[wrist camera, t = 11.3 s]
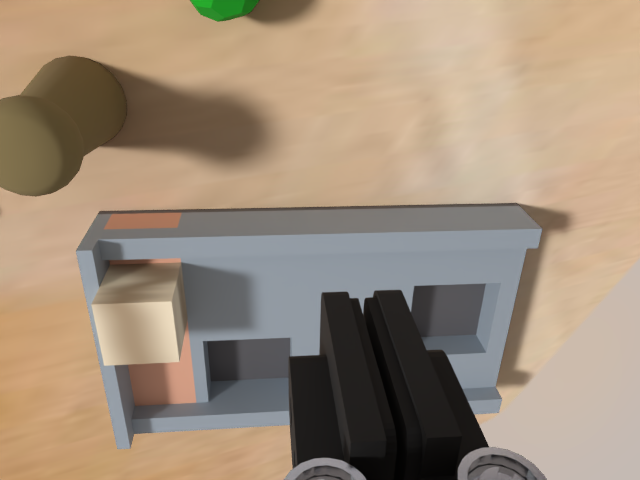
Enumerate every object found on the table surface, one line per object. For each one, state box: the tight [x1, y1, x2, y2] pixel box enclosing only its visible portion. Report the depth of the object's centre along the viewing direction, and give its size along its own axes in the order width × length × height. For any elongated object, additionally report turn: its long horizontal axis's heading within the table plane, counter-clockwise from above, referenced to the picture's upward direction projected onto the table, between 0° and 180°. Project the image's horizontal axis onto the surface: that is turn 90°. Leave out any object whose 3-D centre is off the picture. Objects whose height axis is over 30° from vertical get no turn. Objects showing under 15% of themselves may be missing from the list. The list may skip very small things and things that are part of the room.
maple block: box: [91, 262, 188, 366], centre depth 39 cm, size 5×5×5 cm
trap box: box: [76, 203, 542, 449], centre depth 44 cm, size 32×18×6 cm, turn 89°
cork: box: [0, 56, 127, 196], centre depth 32 cm, size 6×6×11 cm
